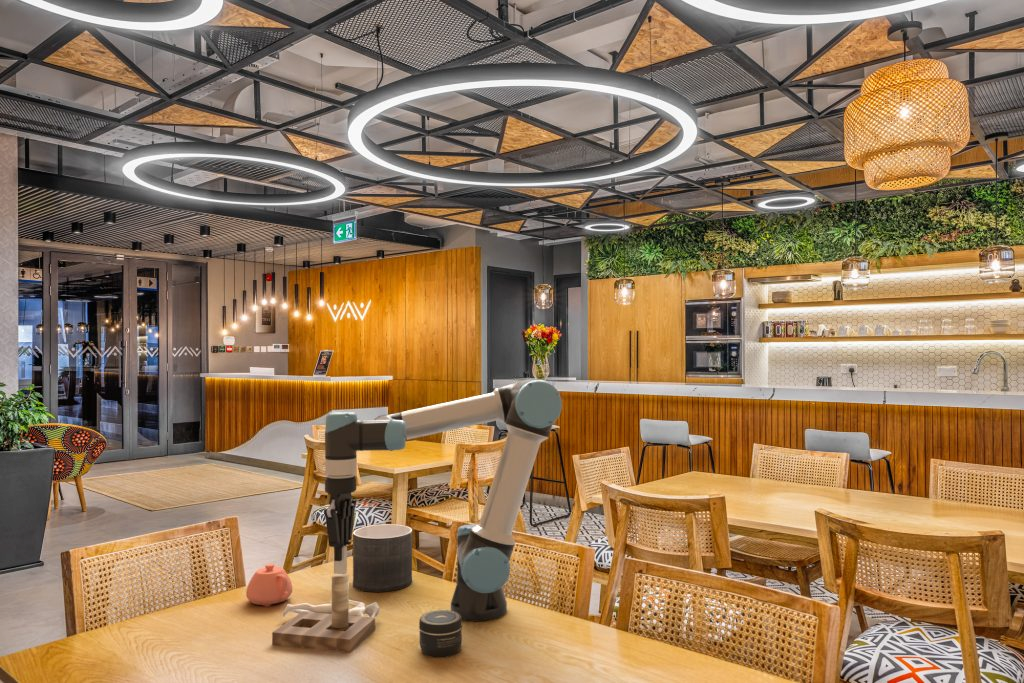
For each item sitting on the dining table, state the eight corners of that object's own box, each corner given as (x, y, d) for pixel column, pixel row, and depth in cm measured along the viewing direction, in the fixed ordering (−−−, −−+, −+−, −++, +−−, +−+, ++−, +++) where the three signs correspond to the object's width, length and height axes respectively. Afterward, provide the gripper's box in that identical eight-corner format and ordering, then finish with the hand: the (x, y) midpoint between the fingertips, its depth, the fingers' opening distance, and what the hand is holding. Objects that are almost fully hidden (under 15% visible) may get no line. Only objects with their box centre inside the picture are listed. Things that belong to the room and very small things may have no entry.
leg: (351, 636, 170) (351, 574, 170) (344, 642, 166) (344, 579, 166) (336, 634, 171) (336, 573, 171) (328, 641, 167) (328, 578, 167)
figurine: (284, 629, 181) (378, 632, 178) (277, 621, 176) (373, 624, 174) (292, 600, 186) (383, 602, 183) (285, 592, 181) (378, 594, 179)
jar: (414, 645, 164) (414, 613, 165) (454, 638, 168) (454, 607, 168) (426, 662, 155) (426, 627, 155) (468, 654, 159) (468, 621, 159)
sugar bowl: (274, 591, 204) (275, 556, 204) (305, 600, 196) (305, 564, 196) (237, 603, 194) (237, 566, 194) (267, 613, 186) (267, 575, 186)
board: (375, 629, 174) (375, 617, 174) (349, 652, 160) (350, 639, 160) (302, 623, 178) (302, 611, 178) (272, 645, 165) (272, 632, 165)
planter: (343, 591, 204) (343, 537, 204) (365, 573, 221) (365, 523, 222) (401, 594, 201) (401, 539, 201) (419, 575, 218) (419, 525, 219)
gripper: (339, 471, 177) (338, 564, 176) (313, 479, 164) (312, 580, 163) (366, 472, 175) (366, 566, 174) (342, 480, 162) (342, 582, 162)
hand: (340, 572), depth 169 cm, fingers closed
